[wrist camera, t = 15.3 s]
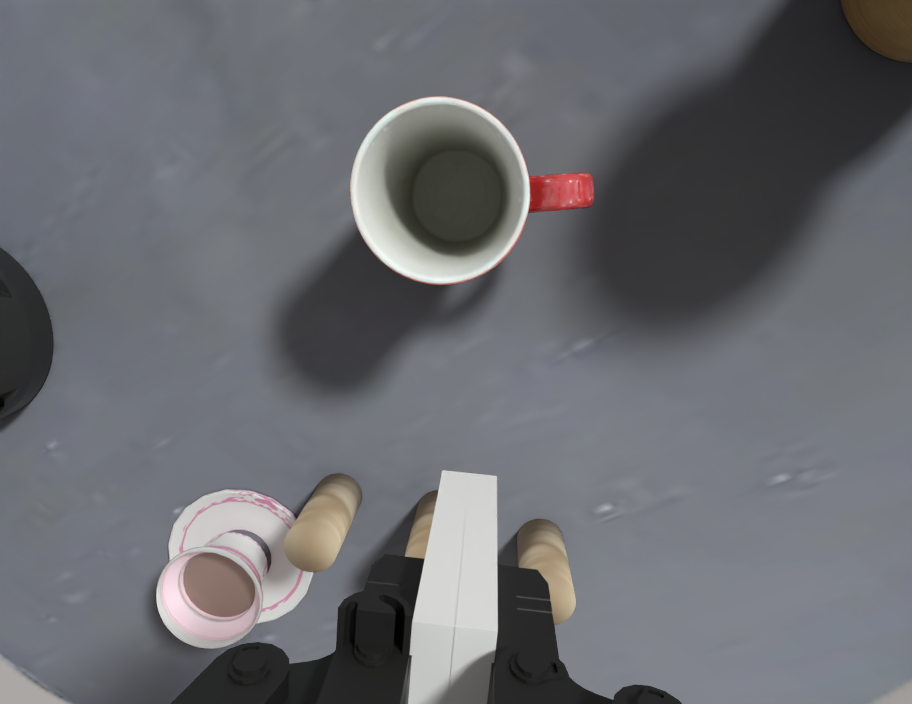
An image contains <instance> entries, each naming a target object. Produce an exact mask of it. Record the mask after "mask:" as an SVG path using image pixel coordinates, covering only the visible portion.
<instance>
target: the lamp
mask: <svg viewBox="0 0 912 704" xmlns="http://www.w3.org/2000/svg"><path fill="white" fill-rule="evenodd" d="M840 2H841V6H842V10H843V12H844V15H845V18H846V20H847V22H848V24H849V25H850V27H851V29H852V30H853V32H854V33H855V34H856V35H857V37H858V38H859V39H860V40H861V41H862V42H863V43H864V44H865V45H866V46H868V47H869V48H870V49H872V50H873V51H875V52H877V53H878V54H880V55H882V56H885V57H887V58H890V59H893V60H896V61H901V62H908V63H912V0H840Z"/></svg>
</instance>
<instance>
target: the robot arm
mask: <svg viewBox="0 0 912 704" xmlns="http://www.w3.org/2000/svg"><path fill="white" fill-rule="evenodd" d="M52 354H53V332H52V325H51V320H50V316H49V313H48V310H47V307H46V304H45V302H44V300H43V297H42V295H41V293H40V291H39V290H38V288H37V286H36V285H35V283H34V281H33V280H32V279H31V277H30V276H29V274H28V273H27V272H26V271H25V270H24V268H23V267H22V266H21V265H20V264H19V263H18V262H17V261H16V260H15V259H14V258H13V257H12V256H10V255H9V254H8V253H7V252H6V251H4V250H3V249H1V248H0V419H1V418H4V417H6V416H8V415H11V414H13V413H15V412H16V411H18V410H20V409H21V408H22V407H24V406H25V405H26V404H27V403H29V402H30V401H31V400H32V399H33V397H34V396H35V395H36V394H37V393H38V391H39V390H40V388H41V387H42V385H43V383H44V381H45V379H46V377H47V375H48V372H49V369H50V365H51V361H52ZM171 704H682V703H681V702H680V701H679V700H678V699H676V698H674V697H673V696H671V695H670V694H668V693H667V692H665V691H663V690H660V689H657V688H654V687H651V686H645V685H632V686H628V687H623V688H622V689H621V690H620V691H618V692H617V693H616V694H615V696H614V700H611V699H609V698H606V697H603V696H600V695H598V694H595V693H593V692H591V691H588V690H586V689H584V688H583V687H581V686H580V685H578V684H577V683H575V682H574V681H573V680H572V679H571V678H570V677H569V675H568V672H567V670H566V667H565V665H564V664H563V663H562V662H561V661H560V660H559V655H558V648H557V641H556V634H555V627H554V620H553V614H552V606H551V601H550V592H549V585H548V582H547V581H546V580H545V579H544V577H543V576H542V575H541V573H540V572H539V571H538V570H537V569H528V568H519V567H510V566H501V565H497V476H492V475H482V474H473V473H463V472H454V471H444V470H443V471H442V476H441V481H440V486H439V491H438V496H437V501H436V506H435V511H434V516H433V521H432V526H431V531H430V536H429V541H428V546H427V551H426V556H425V559H423V558H414V557H405V556H396V555H387V554H385V555H384V556H383V557H382V558H381V559H380V560H378V561H377V562H376V563H375V564H374V565H373V566H372V568H371V571H370V574H369V577H368V581H367V583H366V586H365V589H364V591H362V592H358V593H354V594H353V595H351V596H349V597H348V598H346V599H344V601H343V602H342V603H341V605H340V606H339V607H338V622H337V642H336V650H335V652H334V653H332V654H330V655H328V656H326V657H323V658H321V659H318V660H313V661H308V662H301V663H293V664H289V658H288V657H287V655H286V654H285V652H284V651H283V650H282V649H280V648H278V647H276V646H274V645H272V644H266V643H260V642H256V643H247V644H241V645H239V646H236V647H233V648H231V649H228V650H227V651H225V652H224V653H223V654H221V655H220V656H219V657H217V658H216V659H215V660H214V661H213V662H212V663H211V664H210V665H209V666H208V667H207V668H206V669H205V670H204V671H203V672H202V673H201V674H200V675H199V676H198V677H197V678H196V679H195V680H194V681H193V682H192V683H191V684H190V685H189V686H188V687H187V688H186V689H185V690H184V691H183V692H182V693H181V694H180V695H179V696H178V697H177V698H176V699H175V700H174V701H173V702H172V703H171Z"/></svg>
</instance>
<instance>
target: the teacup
mask: <svg viewBox="0 0 912 704" xmlns="http://www.w3.org/2000/svg"><path fill="white" fill-rule="evenodd" d="M296 519H297V518H296V517H295V516H294V514H293V513H292V512H291V511H289V510H288V509H287V508H285V507H284V506H282V505H281V504H280V503H278V502H277V501H276V500H274V499H273V498H270V497H267V496H264V495H262V494H259V493H256V492H253V491H251V490H235V489H225V490H221V491H217V492H213V493H209V494H206V495H204V496H202V497H201V498H199V499H198V500H196V501H195V502H193V503H192V504H190V505H189V506H187V507H186V508H185V510H184V511H183V512H182V514H181V515H180V516H179V518H178V519H177V521H176V522H175V523H174V525H173V528H172V532H171V536H170V539H169V543H168V549H169V562H168V564H167V565H166V566H165V568H164V569H163V571H162V572H161V574H160V577H159V579H158V583H157V588H156V602H157V607H158V611H159V614H160V616H161V618H162V620H163V622H164V624H165V625H166V627H167V628H168V629H169V630H170V631H171V632H172V633H173V634H174V635H175V636H176V637H177V638H179V639H180V640H182V641H183V642H185V643H186V644H190V645H192V646H195V647H199V648H208V649H213V648H221V647H225V646H228V645H231V644H233V643H235V642H237V641H239V640H240V639H242V638H243V637H245V636H246V635H247V634H248V633H249V632H250V631H251V629H252V628H253V627H254V626H255V624H258V623H263V622H267V621H272V620H276V619H277V618H279V617H281V616H282V615H284V614H286V613H288V612H289V611H291V610H293V609H294V608H295V606H296V605H297V604H298V603H299V602H300V600H301V599H302V598H303V597H304V596H305V594H306V593H307V591H308V588H309V585H310V582H311V579H312V576H313V573H314V572H306V571H302V570H300V569H298V568H296V567H295V566H294V565H293V564H292V563H291V562H290V561H289V560H288V558H287V557H286V554H285V551H284V540H285V537H286V535H287V534H288V532H289V530H290V529H291V527H292V526H293V524H294V523H295V521H296ZM233 530H247V531H250V532H252V533H255V534H256V535H258V536H259V537H261V538H262V539H263V540H264V542H265V543H266V544H267V545H268V548H269V550H270V553H271V565H270V568H269V570H268V572H267V567H268V565H267V558H266V555H265V553H264V551H263V549H262V548H261V547H260V545H259V544H258V543H257V542H255V541H254V540H253V539H251V538H250V537H248V536H246V535H243V534H240V533H235V532H229V531H233ZM227 532H228V533H227Z"/></svg>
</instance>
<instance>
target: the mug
mask: <svg viewBox="0 0 912 704" xmlns="http://www.w3.org/2000/svg"><path fill="white" fill-rule="evenodd" d="M350 200H351V207H352V212H353V216H354V219H355V222H356V225H357V227H358V230H359V232H360V234H361V236H362V238H363V240H364V241H365V243H366V244H367V246H368V247H369V248H370V250H371V251H372V252H373V254H374V255H375V256H376V257H377V258H378V259H379V260H380V261H381V262H383V263H384V264H385V265H386V266H387V267H389V268H390V269H391V270H393V271H394V272H396V273H398V274H400V275H402V276H404V277H406V278H408V279H411V280H414V281H417V282H421V283H425V284H431V285H452V284H458V283H463V282H466V281H470V280H472V279H475V278H477V277H479V276H481V275H483V274H485V273H487V272H488V271H490V270H491V269H493V268H494V267H495V266H497V265H498V264H499V263H500V262H501V261H502V260H503V259H504V258H505V257H506V256H507V255H508V254H509V253H510V251H511V250H512V249H513V247H514V246H515V244H516V243H517V241H518V239H519V237H520V235H521V233H522V231H523V228H524V226H525V223H526V220H527V215H528V213H532V212H544V211H558V210H567V209H577V208H588V207H590V206H592V204H593V202H594V182H593V178H592V175H591V174H589V173H571V174H556V175H544V176H529V175H528V171H527V166H526V163H525V159H524V157H523V154H522V152H521V150H520V148H519V146H518V144H517V142H516V140H515V139H514V138H513V136H512V134H511V133H510V132H509V131H508V129H507V128H506V127H505V126H504V125H503V124H502V123H501V122H500V121H499V120H498V119H497V118H496V117H494V116H493V115H492V114H490V113H489V112H488V111H486V110H484V109H483V108H481V107H479V106H477V105H475V104H473V103H471V102H467V101H465V100H462V99H458V98H451V97H444V96H436V97H425V98H420V99H416V100H413V101H410V102H407V103H405V104H403V105H401V106H398V107H397V108H395V109H393V110H391V111H390V112H389V113H387V114H386V115H385V116H383V117H382V118H381V119H380V120H379V121H378V122H377V123H376V124H375V125H374V126H373V127H372V128H371V130H370V131H369V132H368V134H367V135H366V137H365V138H364V140H363V142H362V144H361V146H360V148H359V150H358V152H357V154H356V157H355V160H354V164H353V168H352V173H351V181H350Z"/></svg>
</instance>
